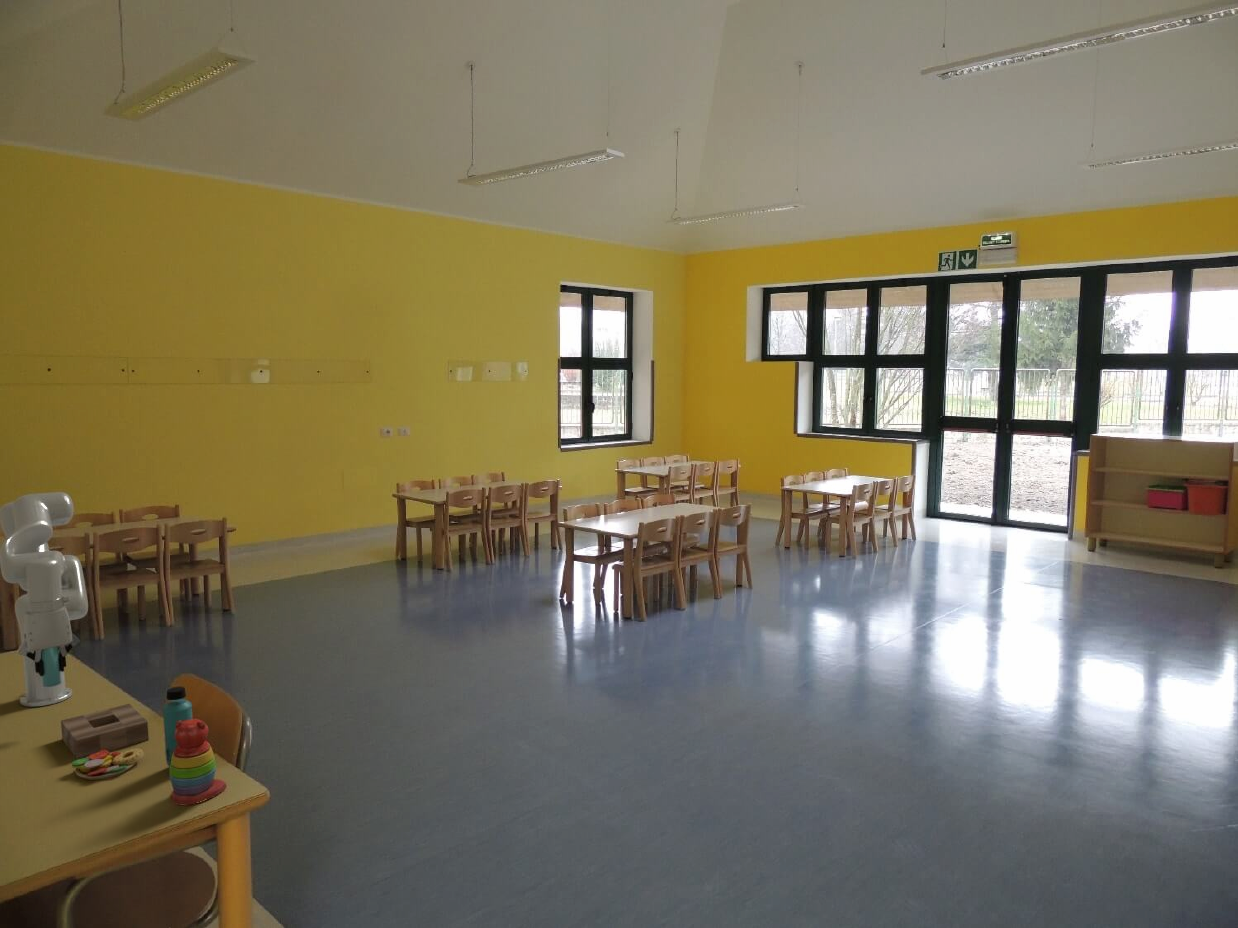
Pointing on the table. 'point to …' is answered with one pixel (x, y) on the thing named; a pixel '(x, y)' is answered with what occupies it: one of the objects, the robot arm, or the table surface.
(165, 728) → the beverage bottle
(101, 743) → the socket block
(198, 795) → the stacking bear
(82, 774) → the toy food set
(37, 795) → the table surface
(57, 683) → the peg
